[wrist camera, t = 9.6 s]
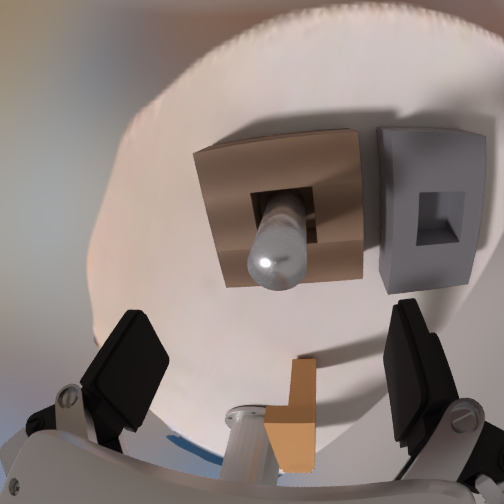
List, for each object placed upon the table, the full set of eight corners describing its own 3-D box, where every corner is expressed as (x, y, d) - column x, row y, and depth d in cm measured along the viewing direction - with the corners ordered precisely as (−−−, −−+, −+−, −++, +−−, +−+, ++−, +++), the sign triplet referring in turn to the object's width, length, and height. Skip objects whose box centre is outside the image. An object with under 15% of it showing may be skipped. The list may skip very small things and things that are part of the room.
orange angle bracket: (318, 372, 34) (314, 472, 22) (292, 373, 35) (281, 472, 23) (315, 293, 28) (315, 423, 16) (281, 295, 29) (263, 422, 16)
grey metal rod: (307, 221, 24) (308, 289, 15) (270, 224, 25) (252, 291, 16) (303, 185, 23) (304, 237, 14) (265, 189, 23) (242, 241, 15)
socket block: (355, 255, 26) (362, 278, 22) (235, 264, 29) (226, 287, 25) (348, 128, 20) (357, 131, 17) (208, 146, 23) (192, 153, 20)
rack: (452, 263, 24) (468, 284, 21) (378, 270, 26) (387, 294, 23) (462, 130, 18) (485, 136, 14) (376, 127, 20) (390, 131, 16)
